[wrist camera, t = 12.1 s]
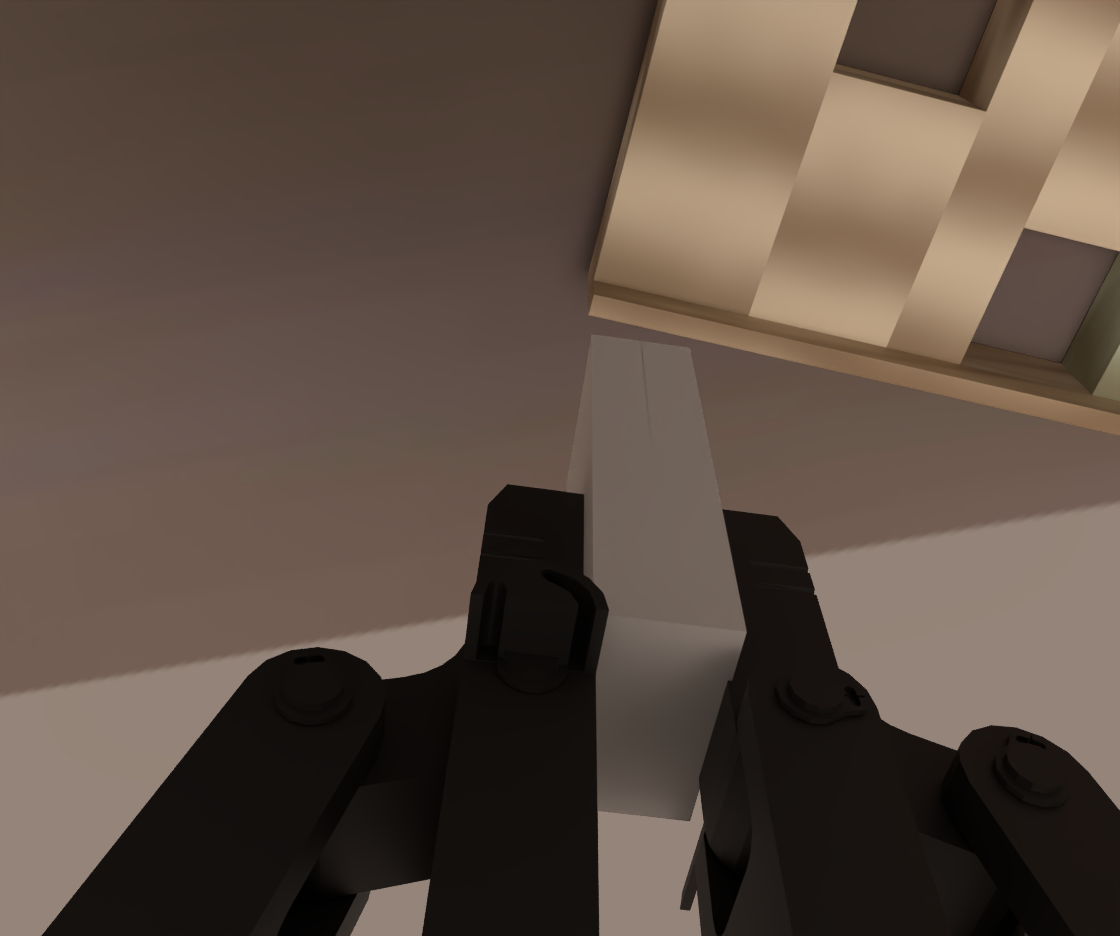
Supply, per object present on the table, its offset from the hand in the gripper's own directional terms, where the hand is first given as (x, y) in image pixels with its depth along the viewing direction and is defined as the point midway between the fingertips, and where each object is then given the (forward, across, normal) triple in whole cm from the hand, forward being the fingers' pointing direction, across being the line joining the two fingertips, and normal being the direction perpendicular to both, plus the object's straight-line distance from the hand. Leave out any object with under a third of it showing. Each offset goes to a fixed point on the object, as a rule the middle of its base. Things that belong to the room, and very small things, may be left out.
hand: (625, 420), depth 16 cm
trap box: (+25, +14, 0) cm, 29 cm away
